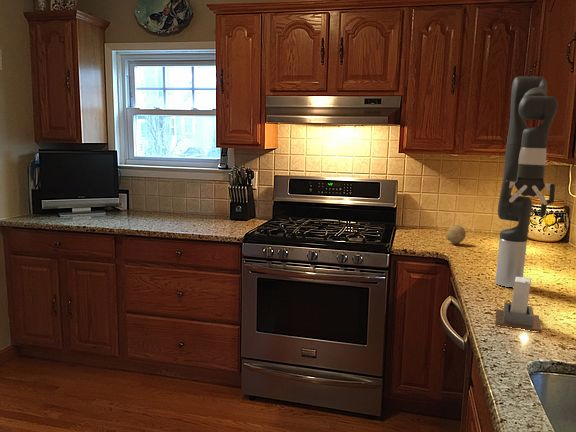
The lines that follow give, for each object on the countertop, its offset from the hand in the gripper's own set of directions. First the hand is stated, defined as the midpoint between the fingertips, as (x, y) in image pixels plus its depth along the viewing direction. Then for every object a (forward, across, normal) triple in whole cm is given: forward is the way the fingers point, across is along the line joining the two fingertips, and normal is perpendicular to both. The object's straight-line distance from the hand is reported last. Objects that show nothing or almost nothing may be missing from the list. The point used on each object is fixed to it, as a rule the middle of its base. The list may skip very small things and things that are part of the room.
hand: (526, 215), depth 160 cm
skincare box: (+29, 0, -14) cm, 32 cm away
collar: (+30, 0, -14) cm, 33 cm away
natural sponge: (+30, -26, +95) cm, 103 cm away
